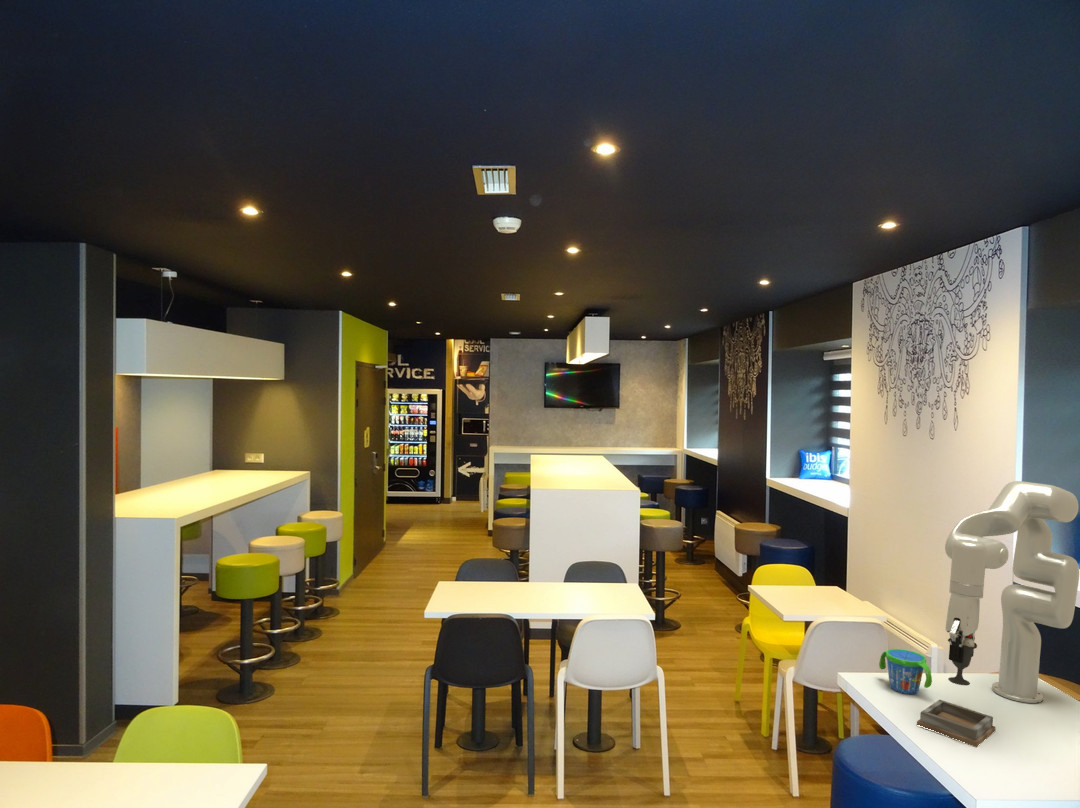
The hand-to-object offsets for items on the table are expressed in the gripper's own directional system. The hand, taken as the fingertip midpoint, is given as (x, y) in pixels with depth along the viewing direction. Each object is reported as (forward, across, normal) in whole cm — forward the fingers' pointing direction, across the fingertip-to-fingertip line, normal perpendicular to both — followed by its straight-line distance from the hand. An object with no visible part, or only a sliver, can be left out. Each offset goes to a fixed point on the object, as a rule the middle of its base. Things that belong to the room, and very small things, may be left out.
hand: (961, 657), depth 195 cm
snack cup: (+19, -15, -19) cm, 31 cm away
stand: (+18, 0, 0) cm, 18 cm away
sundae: (+6, 0, 0) cm, 6 cm away
